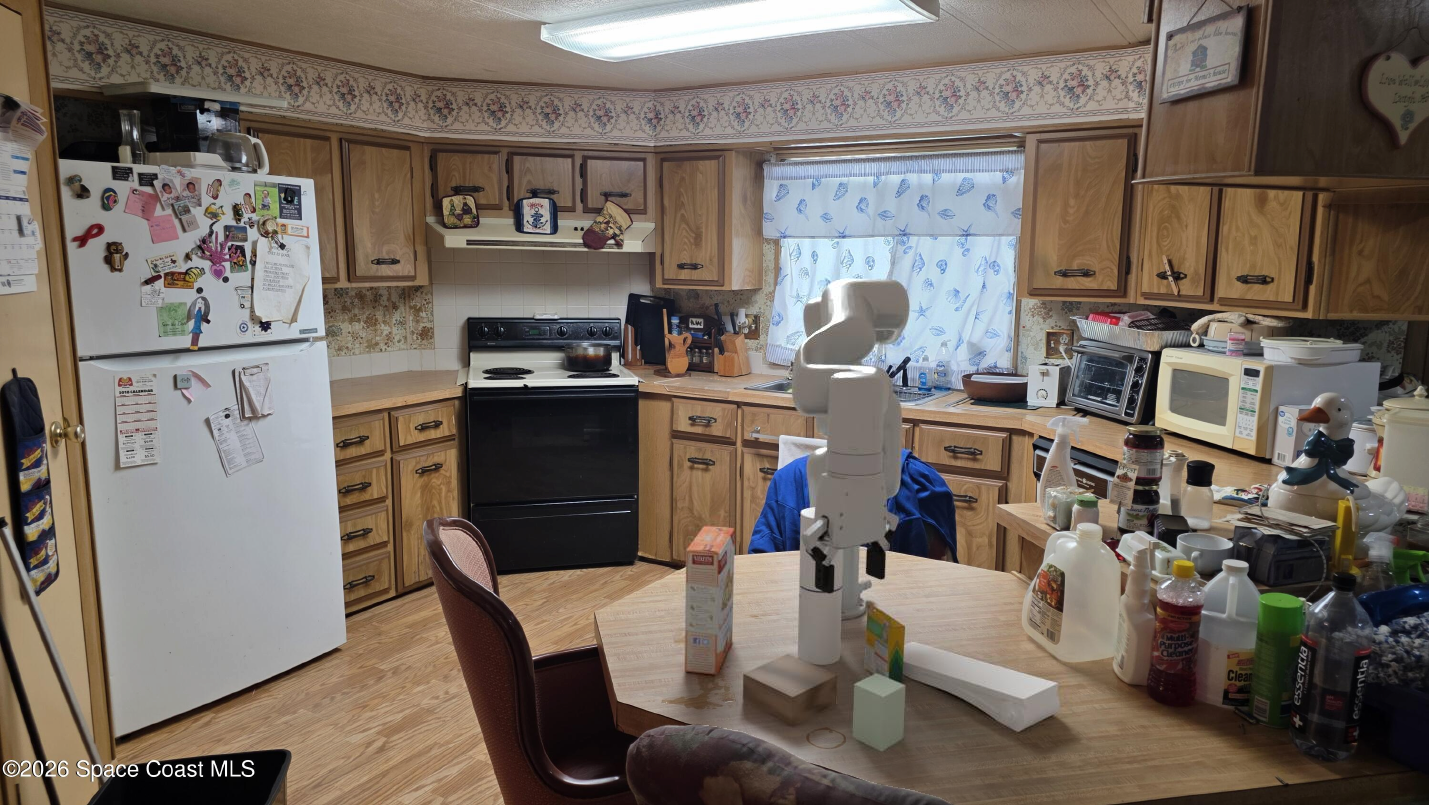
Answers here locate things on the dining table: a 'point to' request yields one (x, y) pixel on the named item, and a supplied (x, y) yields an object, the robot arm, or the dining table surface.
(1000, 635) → the dining table surface
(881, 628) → the crayon box
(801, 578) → the cylindrical container
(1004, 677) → the white arched block
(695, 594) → the cracker box
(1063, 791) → the dining table surface
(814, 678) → the walnut block
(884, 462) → the robot arm
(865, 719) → the sage block
